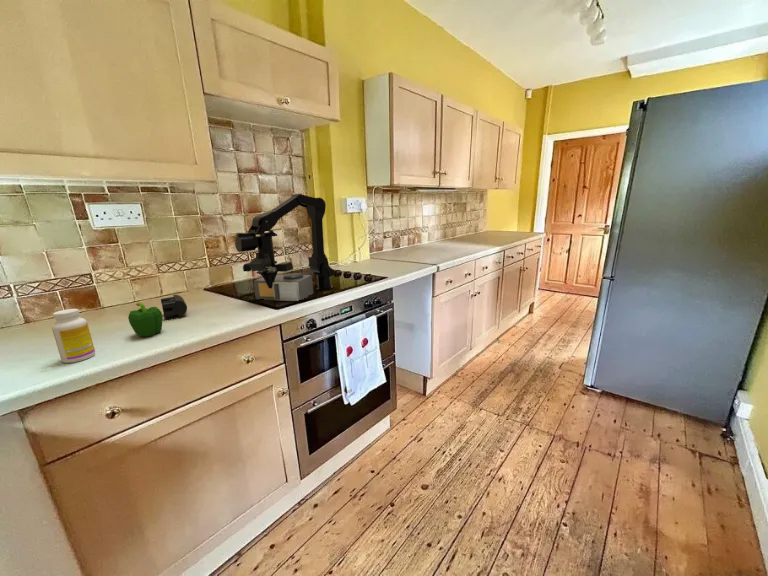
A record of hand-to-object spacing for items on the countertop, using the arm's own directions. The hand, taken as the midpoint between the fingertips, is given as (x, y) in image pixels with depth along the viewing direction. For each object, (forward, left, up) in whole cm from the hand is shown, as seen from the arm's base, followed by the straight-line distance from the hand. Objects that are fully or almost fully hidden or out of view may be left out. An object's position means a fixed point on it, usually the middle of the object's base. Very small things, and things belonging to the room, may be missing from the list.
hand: (270, 288), depth 131 cm
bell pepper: (+37, -19, -6) cm, 42 cm away
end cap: (+20, -26, -6) cm, 34 cm away
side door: (0, +7, -5) cm, 8 cm away
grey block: (-8, +2, -6) cm, 10 cm away
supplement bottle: (+54, -23, -6) cm, 59 cm away
